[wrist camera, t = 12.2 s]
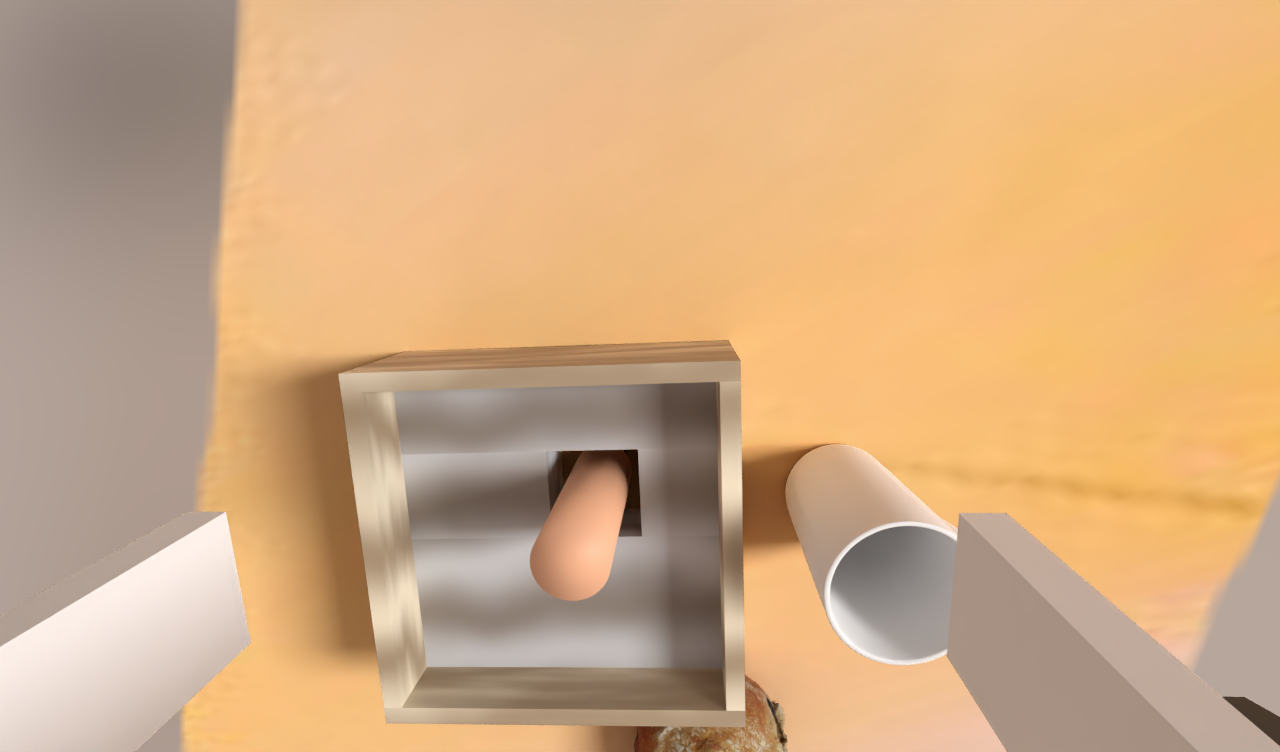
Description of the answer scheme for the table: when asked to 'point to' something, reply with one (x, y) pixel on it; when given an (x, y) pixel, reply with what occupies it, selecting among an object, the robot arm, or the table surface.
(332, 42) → the table surface
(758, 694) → the bread roll
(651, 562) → the socket box
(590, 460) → the peg
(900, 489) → the mug
